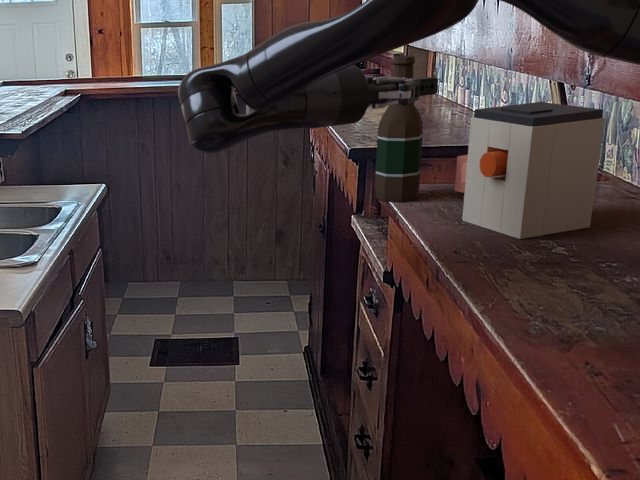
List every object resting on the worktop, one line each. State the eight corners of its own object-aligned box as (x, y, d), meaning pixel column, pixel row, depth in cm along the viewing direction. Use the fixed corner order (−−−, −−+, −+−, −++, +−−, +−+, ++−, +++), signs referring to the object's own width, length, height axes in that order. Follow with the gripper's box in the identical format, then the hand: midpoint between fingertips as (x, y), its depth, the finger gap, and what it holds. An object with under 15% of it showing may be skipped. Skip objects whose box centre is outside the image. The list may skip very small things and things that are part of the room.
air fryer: (528, 210, 141) (540, 99, 134) (589, 227, 130) (607, 107, 123) (462, 220, 137) (471, 107, 130) (519, 239, 126) (533, 116, 119)
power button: (500, 172, 131) (502, 148, 129) (516, 175, 128) (519, 151, 126) (478, 175, 129) (480, 150, 128) (494, 179, 126) (497, 154, 125)
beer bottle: (403, 204, 149) (411, 58, 140) (365, 199, 154) (371, 57, 145) (427, 196, 154) (437, 54, 144) (390, 191, 159) (397, 53, 150)
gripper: (352, 70, 107) (467, 58, 112) (300, 65, 119) (407, 54, 124) (350, 132, 110) (463, 118, 115) (300, 121, 121) (404, 108, 127)
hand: (434, 85), depth 119 cm, fingers closed
